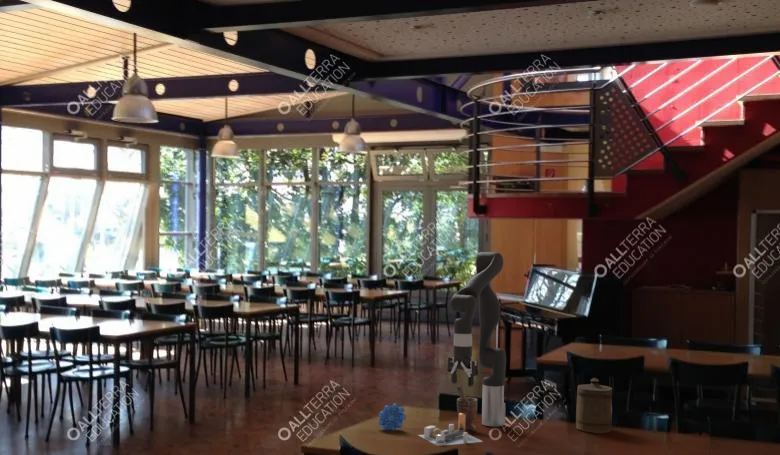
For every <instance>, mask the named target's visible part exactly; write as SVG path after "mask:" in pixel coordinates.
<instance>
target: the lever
mask: <svg viewBox="0 0 780 455" xmlns="http://www.w3.org/2000/svg"><path fill="white" fill-rule="evenodd" d="M465 420H466V414H465V413H459V417H458V424H457V425H458V426H457V427H458V429H456V430H455V429H454V431H452V432H449V429H443V430H441V434H436V442H445V441H446V440H449V439H452V438H455V437H457V436H460V435H463V434H464V432H466V429H465Z"/></svg>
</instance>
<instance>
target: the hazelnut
mask: <svg viewBox="0 0 780 455" xmlns="http://www.w3.org/2000/svg"><path fill="white" fill-rule="evenodd" d="M441 431H442V429H440V428H438V427H436V428H435V429H434V430H433V432H432V435H433V437H434V438H436V434H441Z"/></svg>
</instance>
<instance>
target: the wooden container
mask: <svg viewBox="0 0 780 455" xmlns="http://www.w3.org/2000/svg"><path fill="white" fill-rule="evenodd" d="M599 382H600V380H599V379H598V378H597V377H592V378H591V379H590V384H589V383H587V384H586V383H585V384H578V385H577V388H576V389H577V390H576V407H575V408H576V410H575V428H577V429H576V430H578V429H579V430H578V431H580V430H582V431H581V432H583V431H587V432H586V433H588V432H593V433H592V434H608V433H607V432H609V433H611V432H612V430H613V429H612V428H613V426H612V422H613V406H612V404H613V403H612V402H613V399H612V397H613V388H612V387H610V386H608V385H602V384H600V383H599ZM610 431H611V432H610Z"/></svg>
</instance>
